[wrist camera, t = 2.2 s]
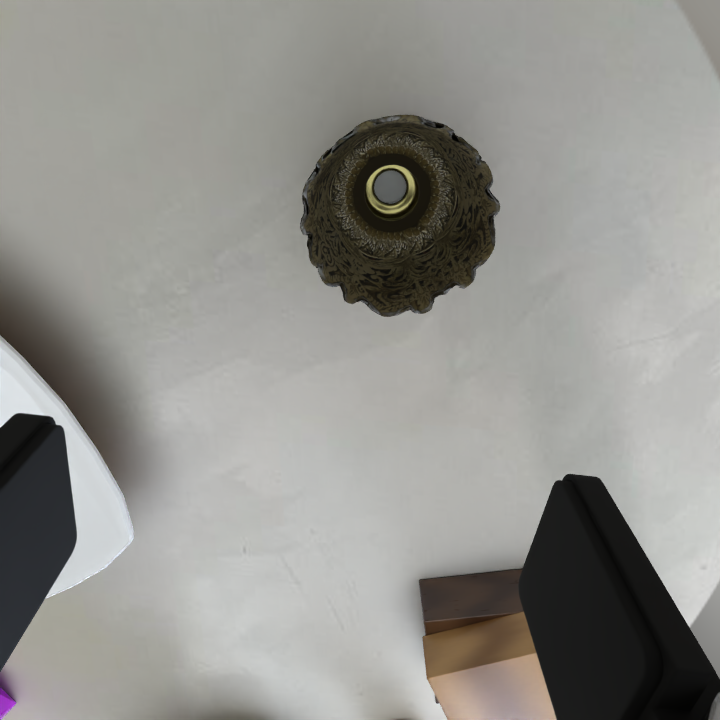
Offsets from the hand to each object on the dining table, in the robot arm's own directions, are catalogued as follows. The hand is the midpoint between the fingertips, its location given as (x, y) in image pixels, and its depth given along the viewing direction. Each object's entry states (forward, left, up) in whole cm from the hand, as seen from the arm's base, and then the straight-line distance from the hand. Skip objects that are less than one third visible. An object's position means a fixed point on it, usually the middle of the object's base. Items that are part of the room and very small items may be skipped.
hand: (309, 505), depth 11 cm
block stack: (-6, +30, -21) cm, 37 cm away
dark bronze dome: (-3, -2, -21) cm, 21 cm away
